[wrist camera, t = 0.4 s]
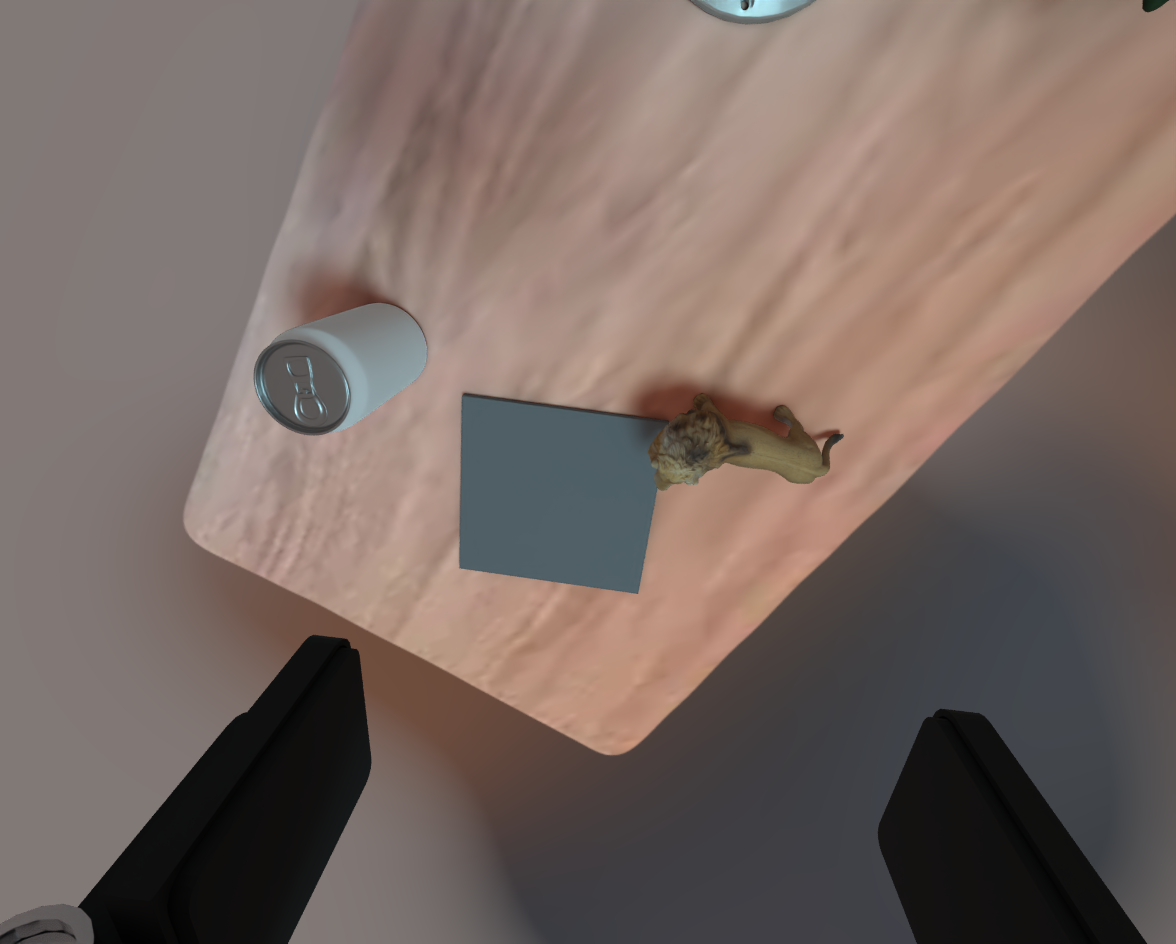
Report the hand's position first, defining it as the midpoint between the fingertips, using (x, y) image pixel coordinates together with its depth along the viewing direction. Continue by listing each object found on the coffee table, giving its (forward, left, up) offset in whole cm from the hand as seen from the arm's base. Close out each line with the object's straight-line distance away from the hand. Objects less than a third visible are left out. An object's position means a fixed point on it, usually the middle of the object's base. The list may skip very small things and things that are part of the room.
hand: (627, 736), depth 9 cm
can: (+3, -19, -35) cm, 40 cm away
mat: (+14, -5, -35) cm, 38 cm away
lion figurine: (+6, +9, -35) cm, 36 cm away
